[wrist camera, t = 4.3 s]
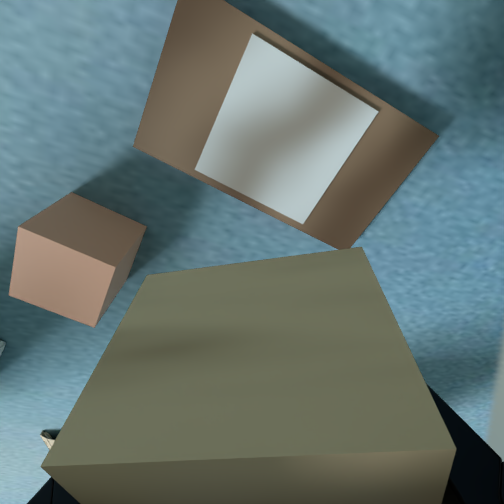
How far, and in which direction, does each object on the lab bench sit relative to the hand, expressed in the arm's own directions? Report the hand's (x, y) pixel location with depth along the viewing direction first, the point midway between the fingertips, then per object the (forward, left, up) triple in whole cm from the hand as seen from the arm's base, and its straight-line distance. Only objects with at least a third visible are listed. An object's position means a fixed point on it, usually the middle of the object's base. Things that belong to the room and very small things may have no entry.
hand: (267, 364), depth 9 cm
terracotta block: (+9, +8, -12) cm, 17 cm away
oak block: (0, 0, -1) cm, 1 cm away
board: (+1, -4, -12) cm, 13 cm away
